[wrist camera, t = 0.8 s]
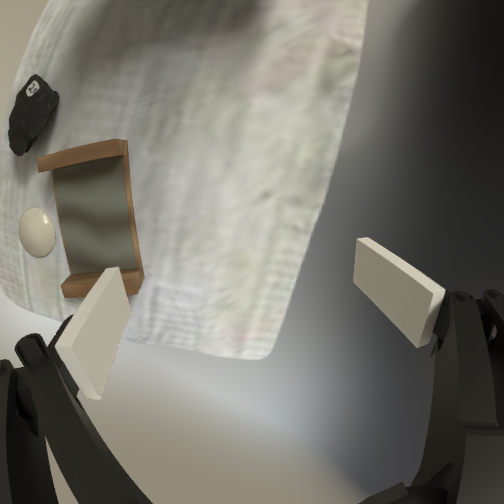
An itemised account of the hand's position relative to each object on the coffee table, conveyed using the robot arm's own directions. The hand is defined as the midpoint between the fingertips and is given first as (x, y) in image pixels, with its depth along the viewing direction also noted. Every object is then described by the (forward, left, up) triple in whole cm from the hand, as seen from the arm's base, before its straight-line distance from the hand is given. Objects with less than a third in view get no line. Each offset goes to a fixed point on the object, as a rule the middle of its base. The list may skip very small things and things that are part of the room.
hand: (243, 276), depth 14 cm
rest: (+1, -18, -24) cm, 30 cm away
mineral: (-17, -26, -25) cm, 40 cm away
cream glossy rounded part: (+2, -30, -25) cm, 39 cm away
